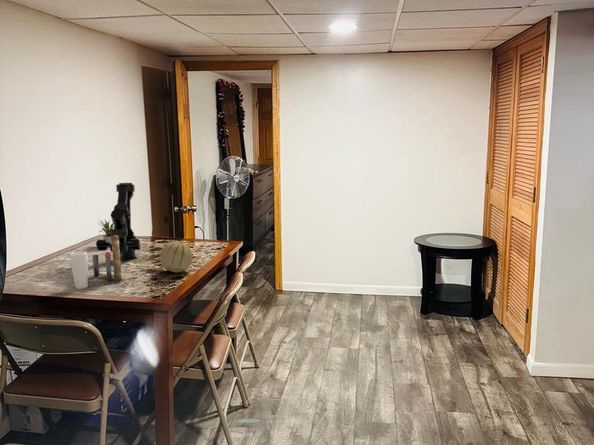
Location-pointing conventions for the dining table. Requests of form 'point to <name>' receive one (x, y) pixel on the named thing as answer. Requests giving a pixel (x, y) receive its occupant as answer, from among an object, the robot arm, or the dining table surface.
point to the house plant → (107, 231)
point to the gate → (115, 259)
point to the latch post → (108, 268)
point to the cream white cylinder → (80, 269)
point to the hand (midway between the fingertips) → (117, 260)
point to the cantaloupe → (176, 256)
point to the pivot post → (95, 266)
